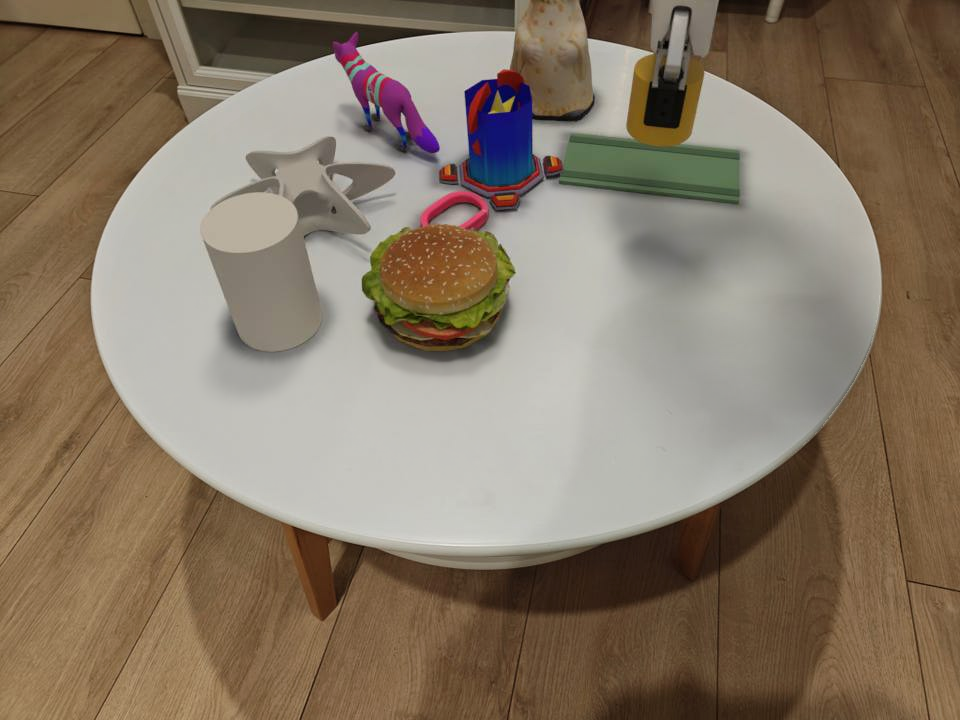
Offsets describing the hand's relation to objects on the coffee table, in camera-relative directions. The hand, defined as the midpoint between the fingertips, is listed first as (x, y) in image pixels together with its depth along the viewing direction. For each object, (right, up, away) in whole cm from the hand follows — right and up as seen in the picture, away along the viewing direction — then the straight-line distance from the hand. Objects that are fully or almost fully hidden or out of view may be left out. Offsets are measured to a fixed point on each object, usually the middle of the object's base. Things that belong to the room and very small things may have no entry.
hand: (663, 103), depth 71 cm
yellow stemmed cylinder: (0, -2, +2) cm, 3 cm away
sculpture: (-36, -8, +14) cm, 39 cm away
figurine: (-8, +10, +29) cm, 32 cm away
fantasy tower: (-15, -2, +18) cm, 23 cm away
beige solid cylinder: (-36, -20, +3) cm, 42 cm away
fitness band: (-20, -9, +12) cm, 25 cm away
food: (-21, -19, +4) cm, 28 cm away
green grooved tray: (+3, -1, +18) cm, 18 cm away
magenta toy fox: (-28, +4, +24) cm, 37 cm away
